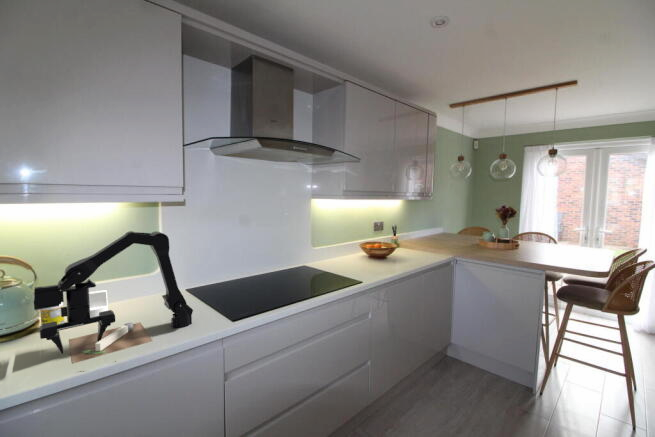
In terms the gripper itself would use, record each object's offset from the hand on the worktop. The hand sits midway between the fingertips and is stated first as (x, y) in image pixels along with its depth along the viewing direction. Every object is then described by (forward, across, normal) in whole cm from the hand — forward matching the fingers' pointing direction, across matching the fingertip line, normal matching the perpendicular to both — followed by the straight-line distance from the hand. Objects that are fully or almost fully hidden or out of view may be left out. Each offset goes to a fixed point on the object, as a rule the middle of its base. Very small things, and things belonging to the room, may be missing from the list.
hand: (80, 348), depth 100 cm
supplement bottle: (+3, +7, -32) cm, 33 cm away
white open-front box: (+3, -6, -31) cm, 31 cm away
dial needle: (+1, -10, -2) cm, 10 cm away
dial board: (+2, -8, -3) cm, 9 cm away
